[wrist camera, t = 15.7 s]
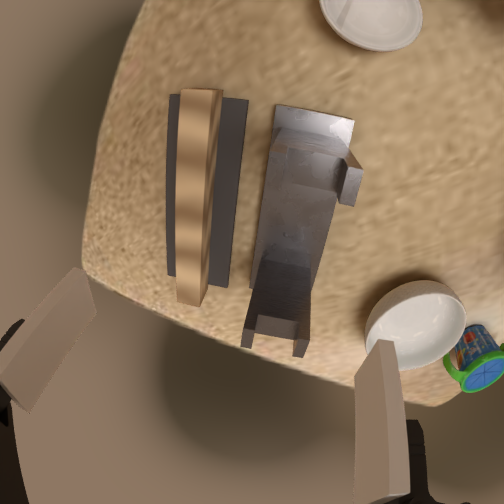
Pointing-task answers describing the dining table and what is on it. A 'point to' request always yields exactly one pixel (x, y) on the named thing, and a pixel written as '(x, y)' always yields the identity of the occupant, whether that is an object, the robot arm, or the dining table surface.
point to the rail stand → (297, 219)
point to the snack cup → (476, 360)
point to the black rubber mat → (223, 186)
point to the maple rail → (195, 190)
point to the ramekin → (375, 22)
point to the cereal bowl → (417, 322)
